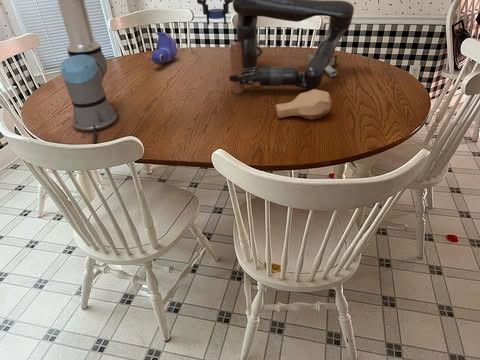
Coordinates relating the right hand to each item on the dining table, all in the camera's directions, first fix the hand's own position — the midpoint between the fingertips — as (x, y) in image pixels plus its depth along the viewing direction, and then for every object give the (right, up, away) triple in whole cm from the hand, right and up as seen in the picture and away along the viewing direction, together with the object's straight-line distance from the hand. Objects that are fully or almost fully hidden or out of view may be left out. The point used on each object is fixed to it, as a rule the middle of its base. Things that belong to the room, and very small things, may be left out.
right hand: (231, 76), depth 147 cm
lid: (-5, +19, -16) cm, 26 cm away
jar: (+3, -6, +3) cm, 7 cm away
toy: (-36, +17, +38) cm, 55 cm away
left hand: (-5, +16, -14) cm, 21 cm away
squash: (+27, -20, -18) cm, 38 cm away
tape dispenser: (+43, +9, +20) cm, 48 cm away
